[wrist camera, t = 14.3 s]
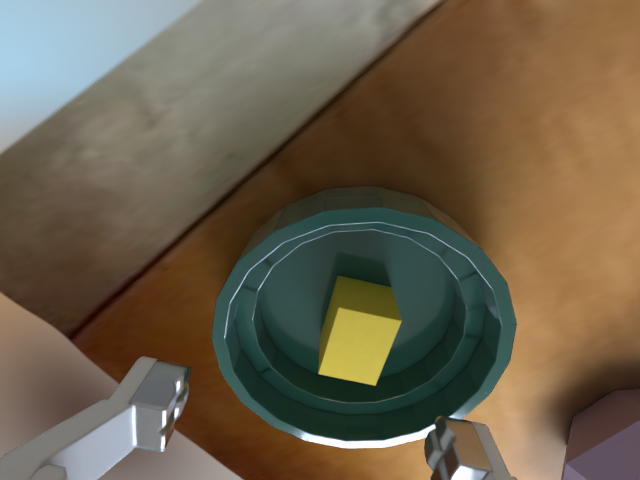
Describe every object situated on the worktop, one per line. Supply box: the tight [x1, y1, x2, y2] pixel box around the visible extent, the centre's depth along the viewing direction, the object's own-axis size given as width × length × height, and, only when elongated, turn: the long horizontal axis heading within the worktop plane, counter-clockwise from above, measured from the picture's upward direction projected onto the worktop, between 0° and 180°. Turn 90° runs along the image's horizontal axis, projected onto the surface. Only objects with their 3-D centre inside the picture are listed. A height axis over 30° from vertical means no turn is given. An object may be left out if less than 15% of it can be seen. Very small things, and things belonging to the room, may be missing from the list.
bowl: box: [212, 186, 517, 448], centre depth 21 cm, size 17×17×4 cm
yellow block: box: [318, 276, 402, 385], centre depth 21 cm, size 5×4×4 cm
